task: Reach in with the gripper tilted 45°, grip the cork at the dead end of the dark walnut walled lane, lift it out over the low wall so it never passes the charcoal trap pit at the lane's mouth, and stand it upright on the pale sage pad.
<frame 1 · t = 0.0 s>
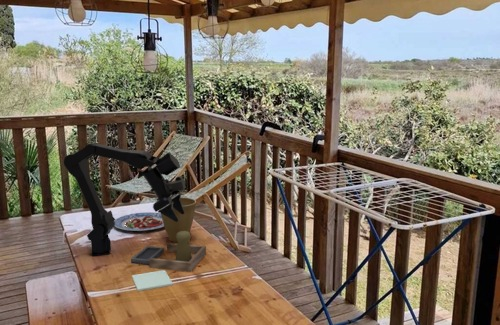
hand: (180, 217, 163), 15 cm above the table, tool tilted 35°, fingers open, 9 cm apart
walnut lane: (183, 260, 161), on the table
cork: (183, 261, 161), resting in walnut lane
ceramic plate: (143, 225, 201), on the table
sage pad: (151, 280, 145), on the table
plant pot: (178, 239, 184), on the table
trap pit: (148, 257, 164), on the table
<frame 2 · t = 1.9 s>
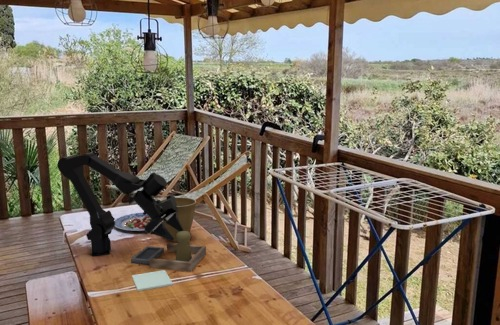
hand: (178, 235, 160), 9 cm above the table, tool tilted 45°, fingers open, 9 cm apart
nothing on the table moved.
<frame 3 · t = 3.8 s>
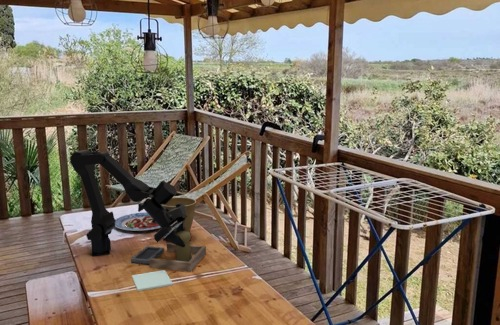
hand: (187, 243, 160), 7 cm above the table, tool tilted 45°, fingers closed on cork, 5 cm apart
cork: (183, 261, 161), resting in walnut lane, touching gripper
everything else where it was.
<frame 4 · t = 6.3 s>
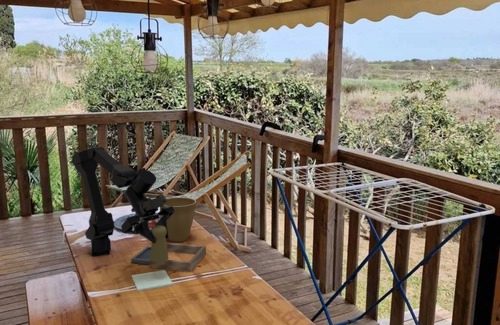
hand: (161, 240, 145), 13 cm above the table, tool tilted 45°, fingers closed on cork, 5 cm apart
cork: (159, 258, 147), point 6 cm above the table, touching gripper
everything else where it was.
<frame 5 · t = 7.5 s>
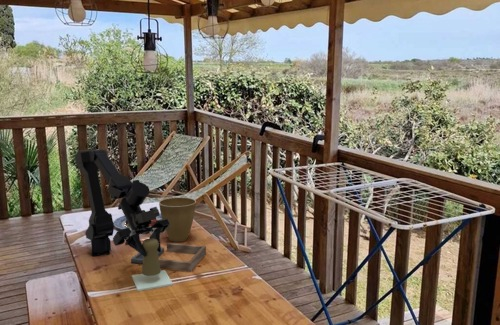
hand: (153, 253, 143), 10 cm above the table, tool tilted 45°, fingers closed on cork, 5 cm apart
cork: (151, 272, 145), point 3 cm above the table, touching gripper
everything else where it was.
when the fingers open (8 cm above the table, at t = 8.6 s): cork stays where it is, resting on sage pad.
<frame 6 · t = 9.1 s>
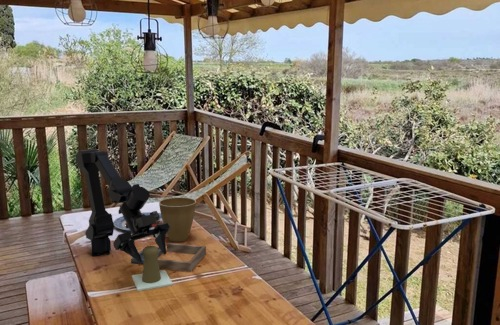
hand: (153, 258, 143), 8 cm above the table, tool tilted 45°, fingers open, 9 cm apart
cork: (151, 279, 145), resting on sage pad
everything else where it was.
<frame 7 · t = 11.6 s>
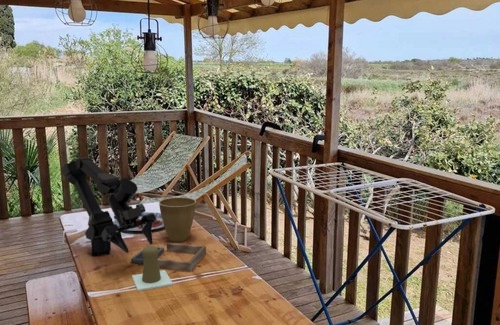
hand: (140, 248, 151), 8 cm above the table, tool tilted 40°, fingers open, 9 cm apart
nothing on the table moved.
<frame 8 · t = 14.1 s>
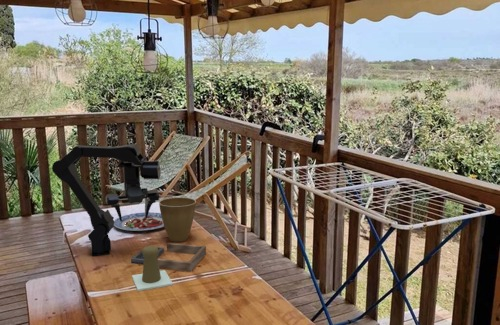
hand: (133, 219, 167), 13 cm above the table, tool pointing down, fingers open, 9 cm apart
nothing on the table moved.
at the end: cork inside the target area on the sage pad (0.2 cm from its centre), point 0.4 cm above the sage pad's base; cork tilted 0°; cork touching sage pad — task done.
